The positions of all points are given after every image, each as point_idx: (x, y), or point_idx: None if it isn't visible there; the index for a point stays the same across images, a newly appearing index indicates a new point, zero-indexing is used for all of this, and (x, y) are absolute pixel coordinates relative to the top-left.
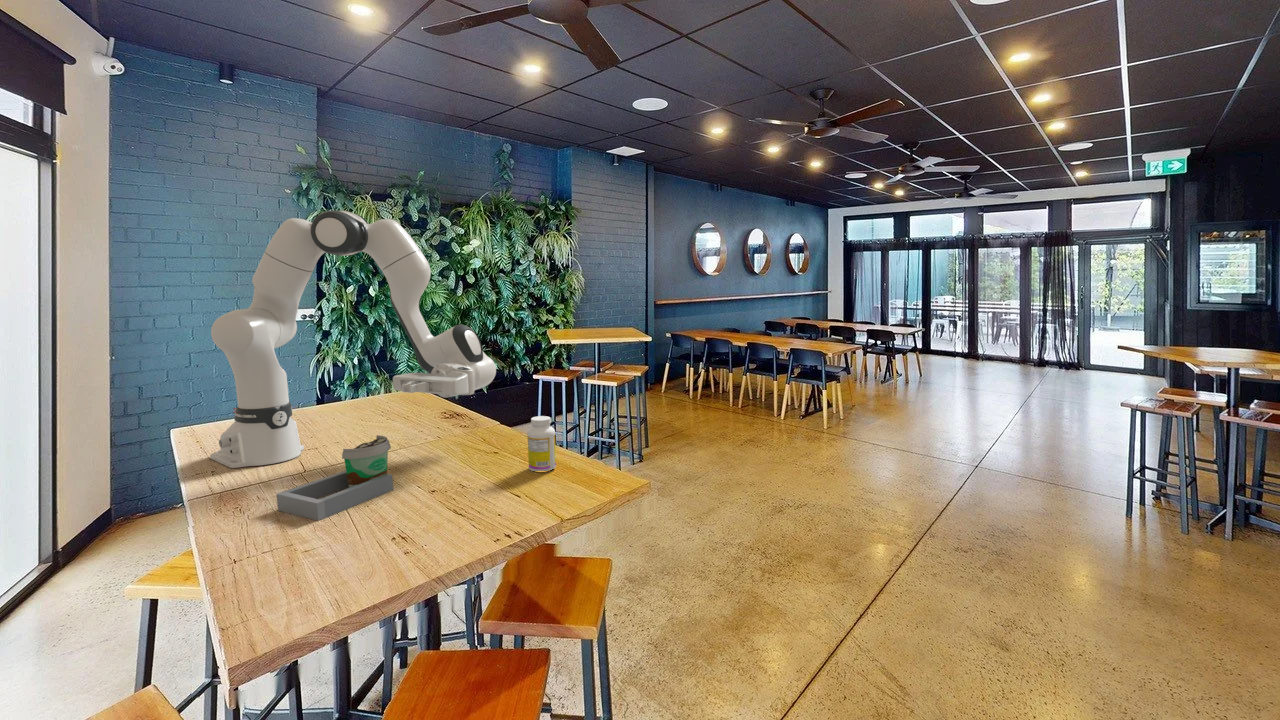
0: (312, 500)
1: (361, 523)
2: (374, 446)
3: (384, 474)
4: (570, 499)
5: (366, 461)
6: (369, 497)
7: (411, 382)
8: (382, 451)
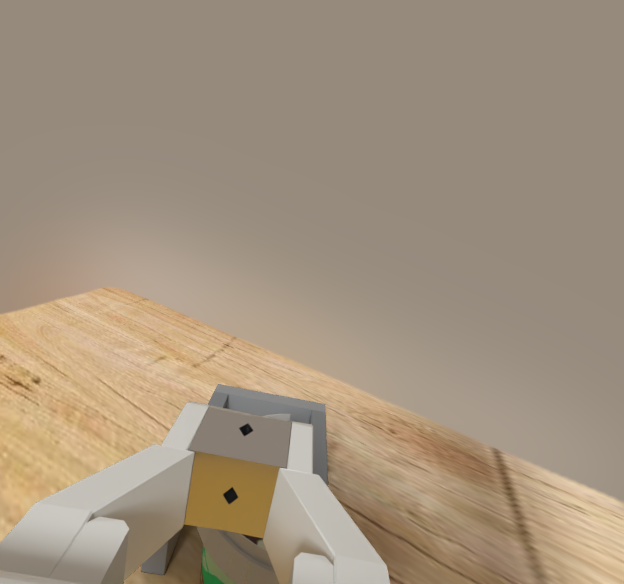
0: (235, 390)
1: (126, 411)
2: None
3: (201, 577)
4: None
5: None
6: None
7: (327, 553)
8: None
